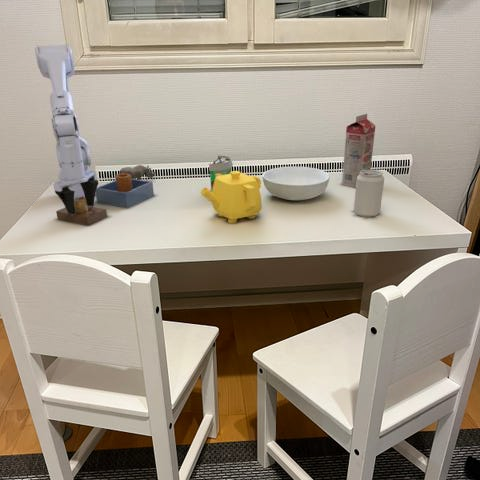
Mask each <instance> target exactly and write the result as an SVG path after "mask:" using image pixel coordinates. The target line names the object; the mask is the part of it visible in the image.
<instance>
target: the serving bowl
mask: <svg viewBox="0 0 480 480" xmlns="http://www.w3.org/2000/svg"><path fill="white" fill-rule="evenodd" d="M330 180H331V177H330V174H329V173H328V172H327V171H325V170H323V169H318V168H315V167H309V166H295V165H294V166H279V167H275V168H271V169H268V170H266V171H264V172H263V173H262V182H263V185H264V188H265V189H266V190H267V192H268V193H270V194H271V195H273V196H274V197H276V198H280V199H282V200H287V201H297V202H298V201H305V200H309V199H313V198H316V197H318V196H320V195H321V194H322V193H324V192H325V191H326V189H327V187H328V185H329V182H330Z"/></svg>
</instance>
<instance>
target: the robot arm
mask: <svg viewBox="0 0 480 480" xmlns="http://www.w3.org/2000/svg"><path fill="white" fill-rule="evenodd" d="M34 54H35V58H36V64H37V66H38V69H39V71H40V74H41V75H42V77H43V78H47V79H49V80H50V83H51V87H52V92H51V93H50V95H49V100H50V101H49V102H50V108H51V113H52V115H51V116H52V117H51V118H50V121H51V129H52V132H53V135H54V139H55V142H56V144H55V149H56V150H55V151H56V157H57V162H58V166H59V168H60V170H59V171H58V172H59V173H58V179H59V180H58V181H57V182H54V183H52V185H53V189H54V194H56V195H57V196H58V198H59V199H60V200H61V202H62V203H63V205H64V208H65V207H66V209H67V211H68V213H69V214H75V206H74V199H75V198H79V197H83V196H84V198H86V201H87V205H88V206H94V207H95V199H96V193H95V192H96V188H97V187H99V180H98V179H97V178H98V176H97V175H98V174H97V171H94V170H89V167H90V166H91V165H92V161H91V155H90V148H89V145H88V141H87V140H86V139H84V138H83V137H81V136H80V135H81V133H80V128H79V121H78V117H77V114H76V111H75V107H74V106H75V105H74V101H73V96H72V94H71V93H70V89H69V80H70V78H71V77H74V76H75V72H76V71H75V70H76V69H75V62H74V56H73V55H74V54H73V50H72V46H71V45H70V44H69V43H68V44H60V45H36V46H35V47H34Z"/></svg>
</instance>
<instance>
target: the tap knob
mask: <svg viewBox="0 0 480 480" xmlns="http://www.w3.org/2000/svg"><path fill="white" fill-rule="evenodd" d="M74 206H75V212H76V213H84V212H87V211H88V207H87V201H86V198H84V196H83V197H79V198H75V199H74Z"/></svg>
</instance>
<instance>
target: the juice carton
mask: <svg viewBox="0 0 480 480" xmlns="http://www.w3.org/2000/svg"><path fill="white" fill-rule="evenodd" d="M345 128H346V130H345V141H344V143H345V144H344V154H343V163H342V176H341V177H342V178H341V185H342V186H346V187H351V188H356V180H357V176H358V175H359V174H360V171H362V170H372V160H373V152H374V141H375V133H376V124H374V123H373V122H372V121H370V120H369V118H368V113H364V114H360V115H357V116H356V118H355V122H353V123H350V124H349V125H347V126H346V127H345Z"/></svg>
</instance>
